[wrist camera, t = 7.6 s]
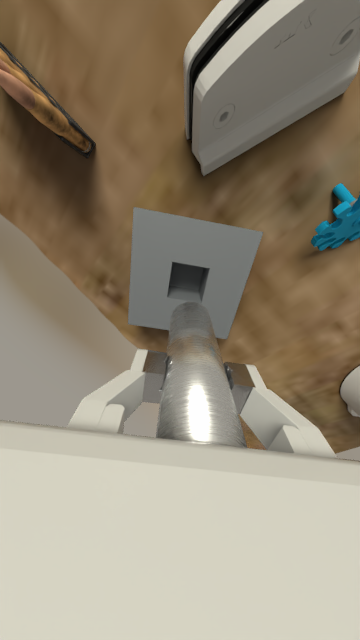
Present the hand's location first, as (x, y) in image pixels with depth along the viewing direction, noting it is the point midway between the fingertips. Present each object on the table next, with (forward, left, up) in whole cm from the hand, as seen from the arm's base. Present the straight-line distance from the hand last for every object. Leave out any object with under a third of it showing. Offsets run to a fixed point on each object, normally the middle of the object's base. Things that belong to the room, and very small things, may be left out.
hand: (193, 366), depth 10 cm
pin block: (0, 0, -21) cm, 21 cm away
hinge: (-4, -20, -21) cm, 29 cm away
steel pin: (0, 0, -5) cm, 5 cm away
